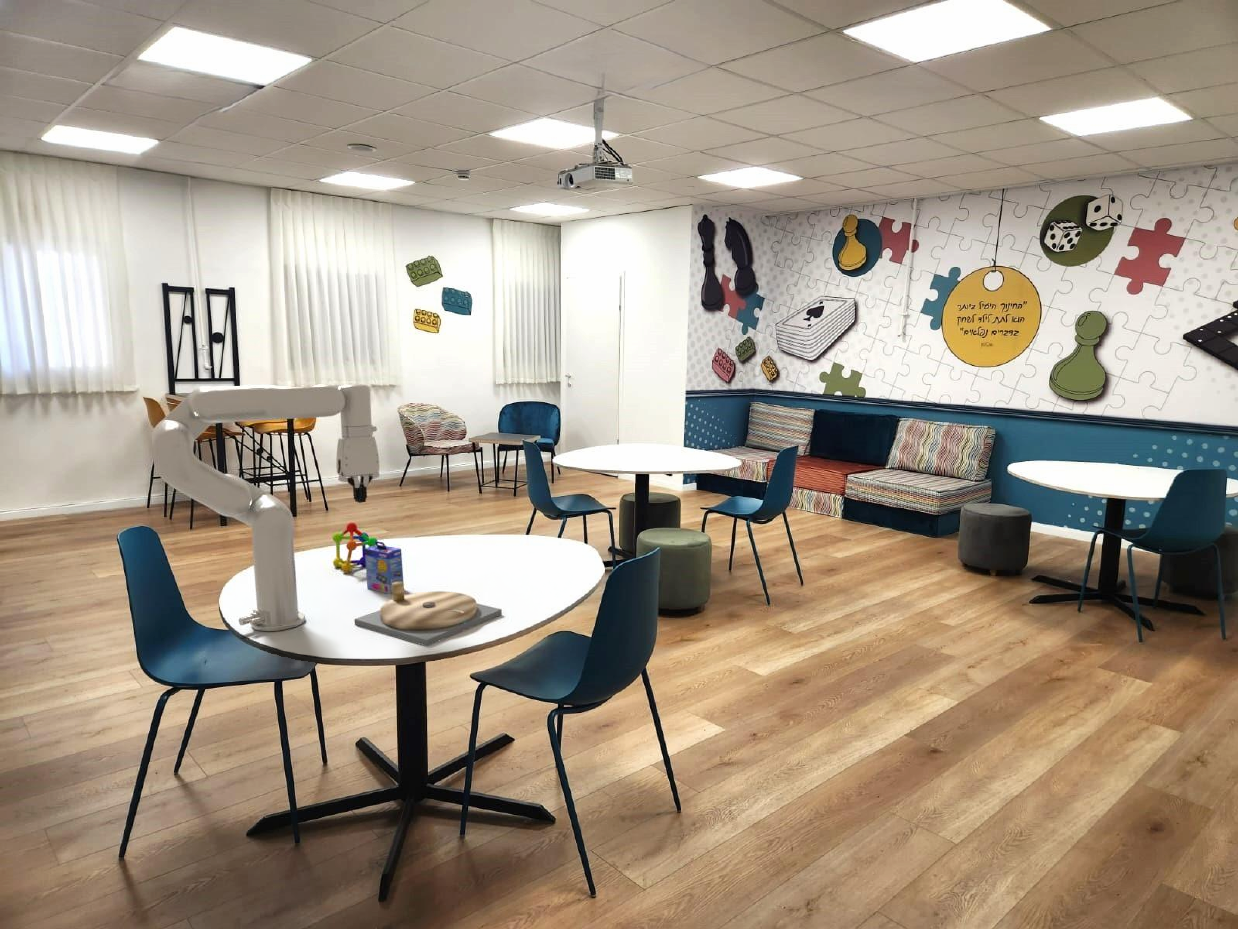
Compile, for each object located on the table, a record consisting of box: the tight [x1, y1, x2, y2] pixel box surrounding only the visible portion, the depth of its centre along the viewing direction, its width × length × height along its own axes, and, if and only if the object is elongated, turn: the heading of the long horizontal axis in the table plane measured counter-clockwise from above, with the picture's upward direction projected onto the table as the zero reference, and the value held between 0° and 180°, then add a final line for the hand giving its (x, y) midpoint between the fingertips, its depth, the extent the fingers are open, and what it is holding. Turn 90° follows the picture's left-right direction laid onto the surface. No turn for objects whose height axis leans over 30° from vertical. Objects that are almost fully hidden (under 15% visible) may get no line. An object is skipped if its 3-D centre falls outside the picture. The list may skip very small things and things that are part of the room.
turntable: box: [379, 581, 478, 630], centre depth 208 cm, size 24×24×6 cm
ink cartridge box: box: [365, 540, 404, 595], centre depth 233 cm, size 10×6×14 cm, turn 59°
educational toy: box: [332, 522, 378, 574], centre depth 256 cm, size 16×13×15 cm
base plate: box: [354, 602, 503, 647], centre depth 209 cm, size 26×26×2 cm
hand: (360, 501), depth 213 cm, fingers closed
